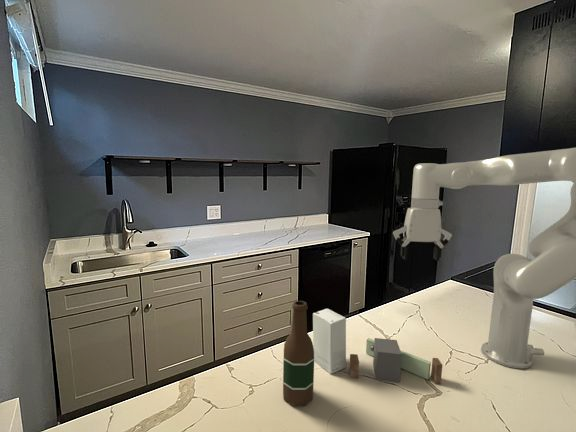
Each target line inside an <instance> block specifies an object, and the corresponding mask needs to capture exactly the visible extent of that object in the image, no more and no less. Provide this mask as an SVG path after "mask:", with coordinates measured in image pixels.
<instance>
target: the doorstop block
mask: <svg viewBox="0 0 576 432" xmlns="http://www.w3.org/2000/svg"><path fill="white" fill-rule="evenodd" d="M374 340H375V341H374V356H372V358H373V359H372V365H373V371H374V375H375V380H378V381H385V382H393V383H400V382H401V381H400V380H401V369H402V368H401V356H402V354H401V351H402V350H401V348H400V346H399V343H398V340H397V339H392V338H391V339H389V338H388V339H387V338H379V337H378V338H377V337H374ZM400 350H401V351H400Z"/></svg>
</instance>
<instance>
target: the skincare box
mask: <svg viewBox="0 0 576 432" xmlns="http://www.w3.org/2000/svg"><path fill="white" fill-rule="evenodd" d="M346 318H347V317H345V316H343V315H341V314H339V313H337V312H335V311H333V310H332V309H329V308H324V309H322V310H318V311H316V312H313V313H312V343H313V348H314V363H316V364H318V365H319V366H320V367H322V368H323V370H326V372H327V373H329V374H334V373H336V372H339V371H341V370H344V369H346V367H347V319H346Z"/></svg>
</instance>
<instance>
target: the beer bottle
mask: <svg viewBox="0 0 576 432" xmlns="http://www.w3.org/2000/svg"><path fill="white" fill-rule="evenodd" d="M291 308H292V311H293V312H292V321H291V322H292V323H291V330H290V333H289V335H288V336H287V337H286V339H285V341H284V345H283V376H282V398H283V401H284V402H286V403H287V404H289V405H290V406H292V407H306V406H307V405H308V404H309V403H311V402H312V401H313V398H314V382H315V381H314V380H315V379H314V378H315V373H314V372H315V361H314V348H313V339H312V338H311V337H310V335H309V334H308V320H307V317H308V316H307V310H308V309H309V307H308V303H307V302H306V301H303V300H296V301H294V302H293V303H292V307H291Z"/></svg>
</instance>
